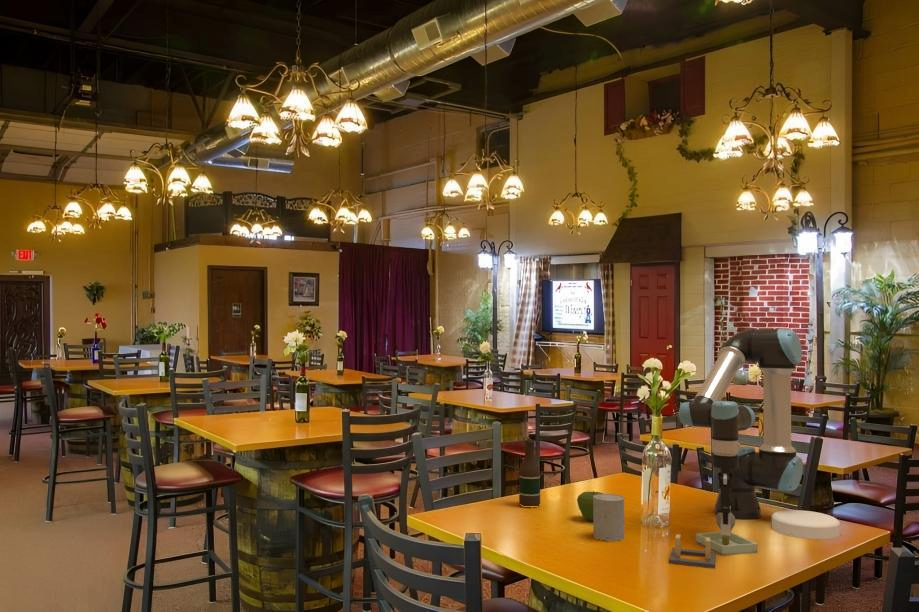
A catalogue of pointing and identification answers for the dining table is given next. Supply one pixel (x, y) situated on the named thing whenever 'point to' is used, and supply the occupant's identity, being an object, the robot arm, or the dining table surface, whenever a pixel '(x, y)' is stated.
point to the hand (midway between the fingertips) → (725, 531)
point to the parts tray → (734, 547)
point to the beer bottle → (529, 477)
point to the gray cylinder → (608, 517)
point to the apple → (586, 504)
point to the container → (805, 524)
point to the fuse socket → (678, 552)
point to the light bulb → (718, 520)
